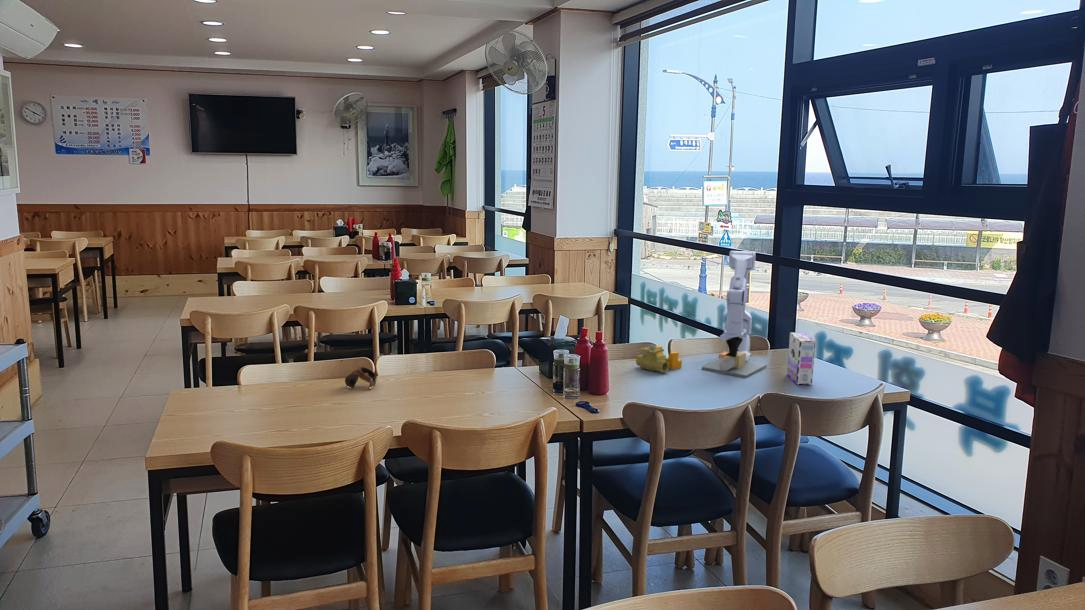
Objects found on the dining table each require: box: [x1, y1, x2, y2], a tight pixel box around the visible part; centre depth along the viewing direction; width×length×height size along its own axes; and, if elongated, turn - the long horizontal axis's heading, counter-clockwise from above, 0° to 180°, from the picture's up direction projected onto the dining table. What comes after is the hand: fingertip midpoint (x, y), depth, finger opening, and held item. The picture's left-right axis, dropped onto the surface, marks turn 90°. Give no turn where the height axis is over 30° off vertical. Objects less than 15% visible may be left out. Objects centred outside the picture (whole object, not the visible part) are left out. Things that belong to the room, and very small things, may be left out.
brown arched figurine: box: [344, 366, 378, 389], centre depth 282 cm, size 12×10×8 cm
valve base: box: [701, 351, 767, 379], centre depth 314 cm, size 19×18×7 cm
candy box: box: [786, 332, 817, 386], centre depth 299 cm, size 14×6×16 cm, turn 178°
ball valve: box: [635, 344, 670, 373], centre depth 311 cm, size 13×10×10 cm
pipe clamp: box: [655, 345, 683, 370], centre depth 318 cm, size 12×4×6 cm, turn 30°
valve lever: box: [718, 348, 739, 359], centre depth 309 cm, size 14×3×1 cm, turn 145°
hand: (732, 356), depth 306 cm, fingers closed, pressing on valve lever
